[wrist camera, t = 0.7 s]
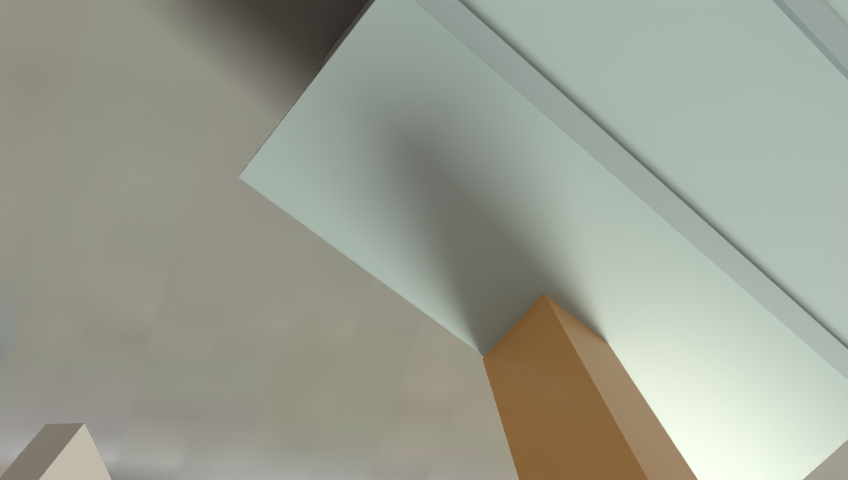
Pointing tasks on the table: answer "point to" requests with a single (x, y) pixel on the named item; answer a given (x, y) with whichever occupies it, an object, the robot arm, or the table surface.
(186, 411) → the table surface
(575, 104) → the lid
